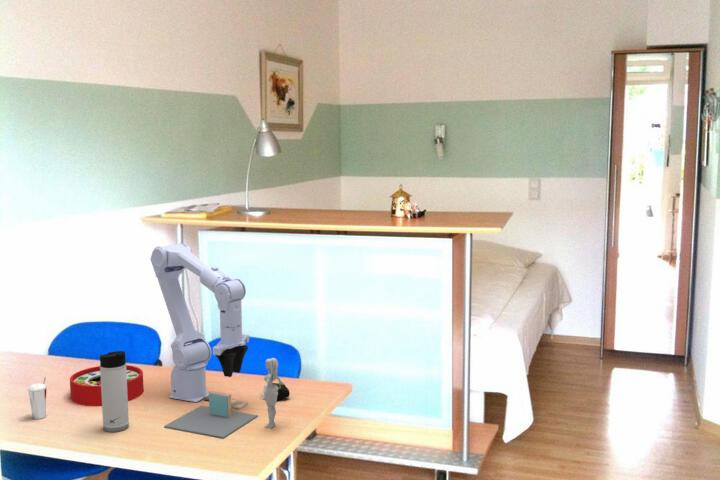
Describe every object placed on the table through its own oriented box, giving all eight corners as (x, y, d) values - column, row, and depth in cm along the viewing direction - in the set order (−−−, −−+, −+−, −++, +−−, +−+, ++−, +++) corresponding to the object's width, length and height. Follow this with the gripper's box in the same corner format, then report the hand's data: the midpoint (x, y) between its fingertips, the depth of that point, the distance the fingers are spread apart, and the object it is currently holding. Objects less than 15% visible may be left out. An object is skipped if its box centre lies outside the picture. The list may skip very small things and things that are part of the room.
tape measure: (290, 401, 212) (290, 388, 211) (266, 403, 210) (266, 390, 209) (285, 393, 218) (284, 380, 218) (261, 395, 216) (261, 383, 216)
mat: (164, 427, 192) (164, 425, 192) (201, 406, 207) (201, 405, 207) (223, 438, 185) (223, 437, 185) (257, 416, 200) (257, 415, 200)
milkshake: (54, 414, 202) (52, 378, 200) (39, 421, 197) (37, 384, 195) (40, 412, 203) (38, 376, 202) (26, 419, 198) (23, 382, 197)
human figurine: (276, 417, 199) (274, 351, 196) (289, 419, 198) (288, 352, 195) (254, 434, 188) (253, 364, 185) (268, 436, 186) (267, 366, 184)
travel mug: (115, 434, 188) (111, 356, 185) (97, 429, 191) (93, 352, 189) (135, 426, 193) (131, 350, 190) (117, 421, 197) (114, 346, 194)
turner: (200, 402, 211) (200, 398, 210) (208, 397, 214) (208, 394, 214) (239, 408, 205) (239, 405, 205) (247, 404, 209) (247, 400, 209)
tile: (209, 414, 200) (208, 393, 199) (212, 412, 201) (211, 391, 201) (228, 418, 197) (227, 396, 197) (231, 416, 199) (231, 394, 198)
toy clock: (56, 385, 208) (88, 363, 228) (57, 405, 209) (89, 382, 228) (126, 387, 206) (153, 365, 226) (127, 408, 207) (153, 384, 227)
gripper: (228, 333, 194) (229, 384, 195) (258, 320, 207) (259, 368, 209) (205, 330, 196) (207, 380, 198) (236, 318, 210) (237, 365, 211)
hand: (232, 374), depth 204 cm, fingers open, 3 cm apart
